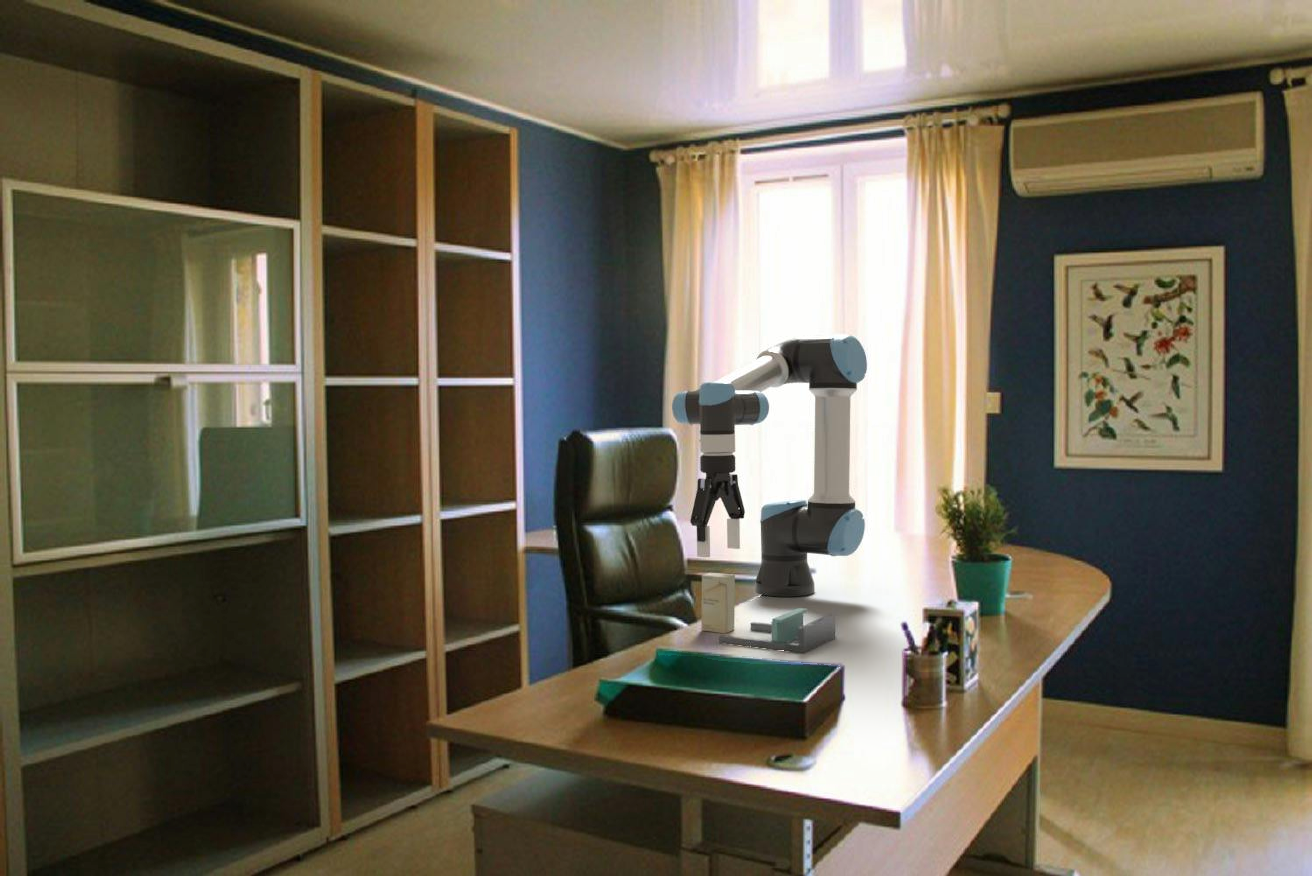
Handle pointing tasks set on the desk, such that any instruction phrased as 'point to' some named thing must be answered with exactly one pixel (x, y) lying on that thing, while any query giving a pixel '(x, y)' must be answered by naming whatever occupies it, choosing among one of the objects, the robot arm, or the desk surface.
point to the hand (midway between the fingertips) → (718, 552)
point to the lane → (807, 641)
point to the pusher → (787, 625)
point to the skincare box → (718, 602)
